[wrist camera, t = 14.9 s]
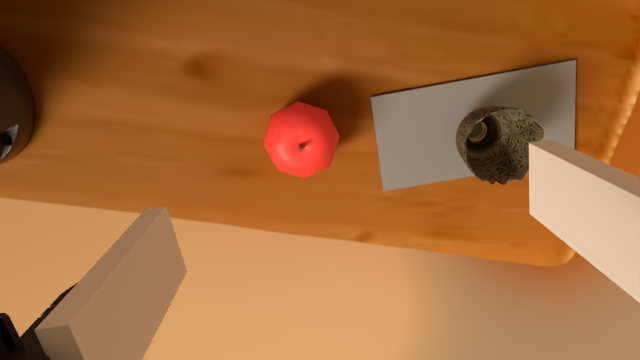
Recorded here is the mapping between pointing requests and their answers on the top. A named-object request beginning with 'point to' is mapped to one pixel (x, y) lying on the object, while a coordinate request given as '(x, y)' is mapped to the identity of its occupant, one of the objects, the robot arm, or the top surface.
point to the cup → (498, 143)
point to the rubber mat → (450, 109)
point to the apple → (301, 139)
